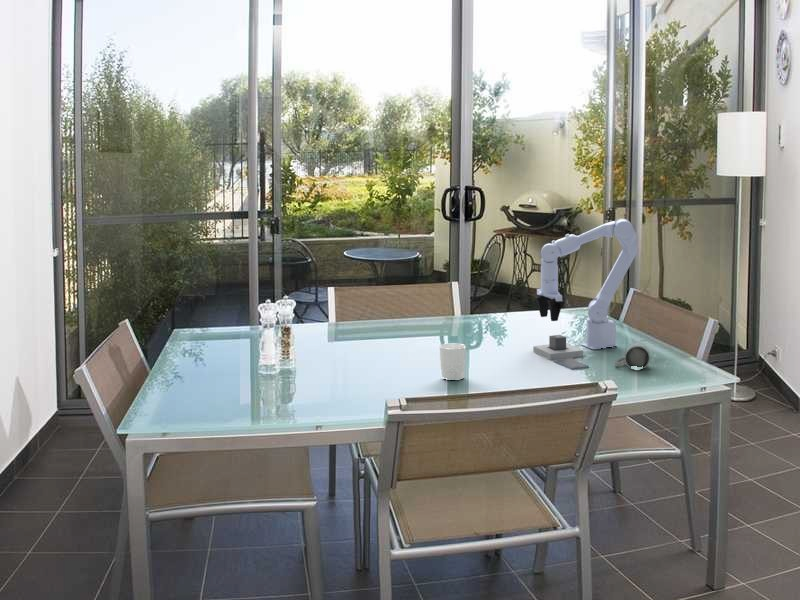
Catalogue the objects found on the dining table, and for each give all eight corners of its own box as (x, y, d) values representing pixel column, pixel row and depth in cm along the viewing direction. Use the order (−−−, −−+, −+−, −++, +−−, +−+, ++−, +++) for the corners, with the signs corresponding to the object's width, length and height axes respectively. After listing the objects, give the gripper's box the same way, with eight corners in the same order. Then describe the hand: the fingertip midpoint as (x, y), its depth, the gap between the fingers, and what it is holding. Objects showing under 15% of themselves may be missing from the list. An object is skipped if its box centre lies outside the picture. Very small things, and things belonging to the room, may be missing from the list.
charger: (559, 352, 312) (560, 334, 311) (566, 354, 308) (566, 336, 307) (549, 353, 310) (549, 335, 309) (555, 356, 307) (555, 338, 306)
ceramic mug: (649, 364, 293) (649, 340, 292) (650, 371, 286) (650, 346, 284) (614, 363, 296) (614, 340, 295) (614, 370, 288) (614, 345, 287)
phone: (569, 361, 301) (569, 357, 301) (588, 369, 291) (588, 365, 291) (553, 363, 299) (553, 359, 299) (572, 371, 289) (572, 367, 289)
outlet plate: (565, 348, 317) (565, 342, 316) (583, 356, 306) (583, 350, 305) (533, 351, 313) (533, 346, 313) (550, 360, 302) (550, 353, 301)
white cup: (438, 375, 286) (438, 343, 284) (464, 374, 287) (463, 342, 285) (441, 382, 278) (441, 349, 277) (468, 381, 279) (467, 348, 277)
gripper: (529, 277, 323) (528, 315, 325) (548, 283, 309) (548, 323, 312) (547, 275, 325) (547, 314, 327) (567, 281, 311) (567, 321, 314)
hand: (549, 318), depth 320 cm, fingers open, 7 cm apart
